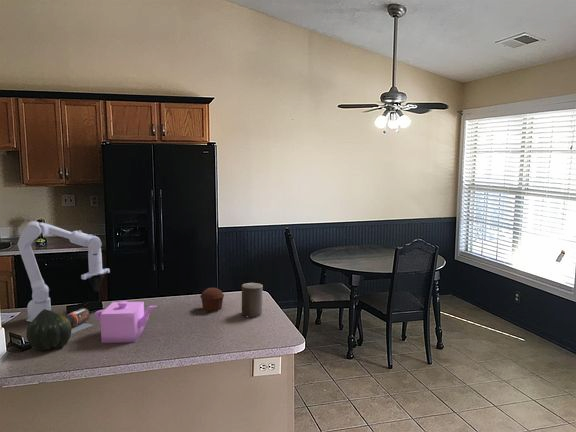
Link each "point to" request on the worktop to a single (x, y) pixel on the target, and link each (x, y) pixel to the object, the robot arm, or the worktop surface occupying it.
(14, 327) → the worktop surface
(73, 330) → the mat
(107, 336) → the teapot
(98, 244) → the robot arm
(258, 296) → the grey lidded canister
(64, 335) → the squash
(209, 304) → the muffin
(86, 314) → the supplement bottle
